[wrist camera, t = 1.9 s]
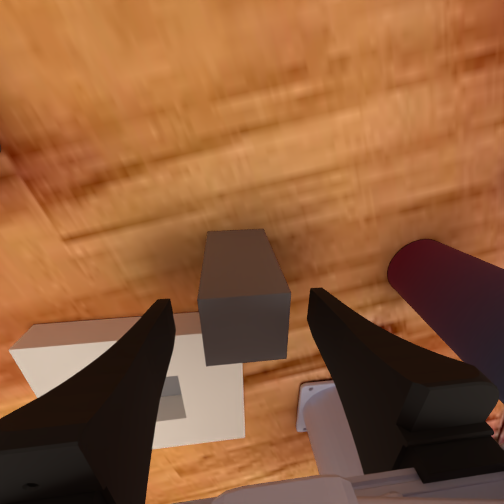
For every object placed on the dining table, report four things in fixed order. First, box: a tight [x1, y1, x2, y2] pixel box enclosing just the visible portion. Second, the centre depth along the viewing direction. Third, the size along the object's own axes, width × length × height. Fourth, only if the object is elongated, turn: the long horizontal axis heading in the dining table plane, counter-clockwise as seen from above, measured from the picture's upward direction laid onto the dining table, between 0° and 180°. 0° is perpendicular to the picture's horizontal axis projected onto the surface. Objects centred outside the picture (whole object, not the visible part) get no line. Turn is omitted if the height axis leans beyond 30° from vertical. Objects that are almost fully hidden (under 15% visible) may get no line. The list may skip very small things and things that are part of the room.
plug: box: [197, 229, 291, 366], centre depth 15 cm, size 4×4×8 cm
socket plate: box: [9, 312, 245, 449], centre depth 22 cm, size 16×14×2 cm
